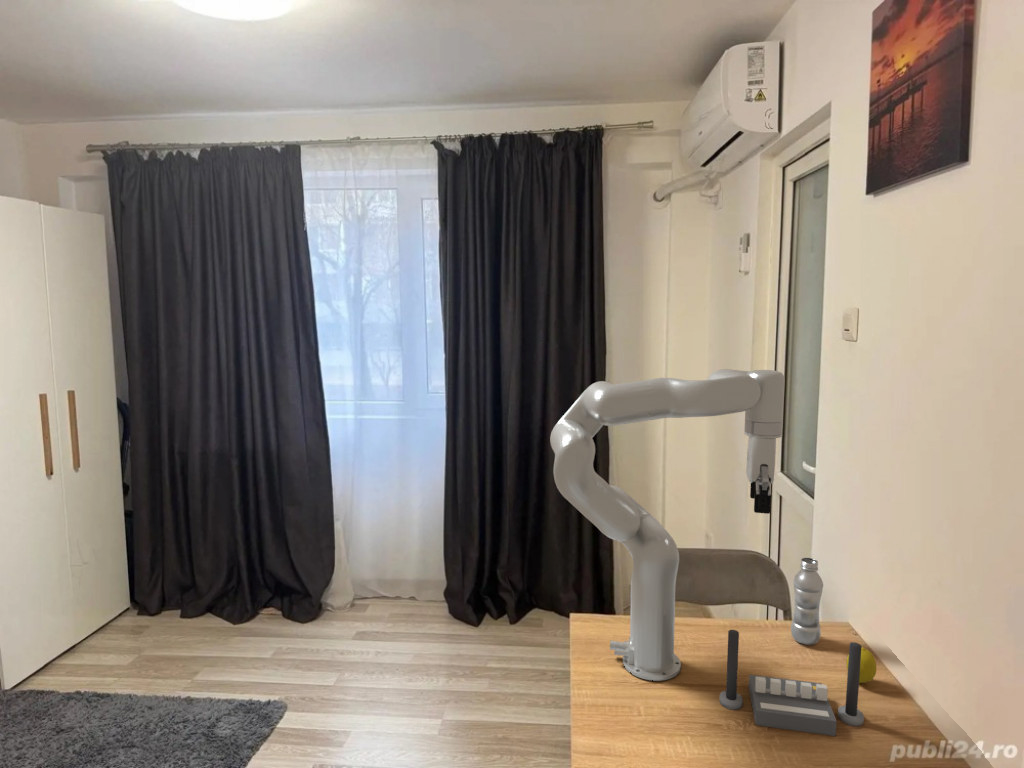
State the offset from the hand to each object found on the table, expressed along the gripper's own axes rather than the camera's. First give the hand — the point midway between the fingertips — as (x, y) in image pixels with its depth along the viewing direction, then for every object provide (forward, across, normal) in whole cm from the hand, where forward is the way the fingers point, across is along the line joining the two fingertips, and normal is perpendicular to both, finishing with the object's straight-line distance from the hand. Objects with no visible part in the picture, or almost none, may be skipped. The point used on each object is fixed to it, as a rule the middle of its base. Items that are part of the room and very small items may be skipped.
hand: (759, 505), depth 139 cm
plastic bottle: (+36, -11, +12) cm, 40 cm away
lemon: (+36, +3, +21) cm, 42 cm away
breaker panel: (+36, +17, +5) cm, 40 cm away
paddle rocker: (+33, +17, +5) cm, 37 cm away
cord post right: (+36, +16, +16) cm, 43 cm away
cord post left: (+36, +17, -6) cm, 40 cm away
